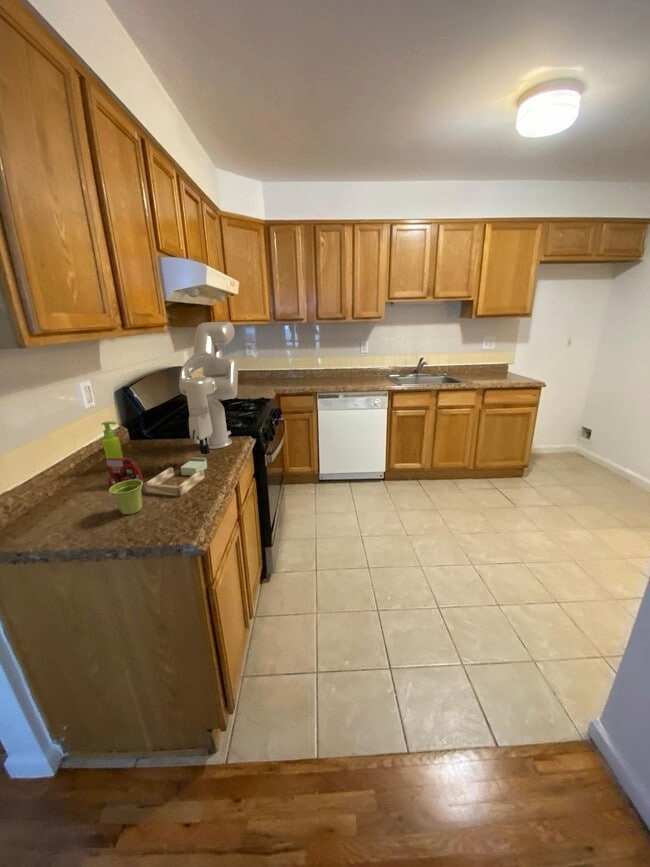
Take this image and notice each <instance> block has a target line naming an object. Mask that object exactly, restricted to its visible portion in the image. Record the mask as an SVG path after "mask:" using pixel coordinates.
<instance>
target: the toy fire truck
mask: <svg viewBox="0 0 650 867" xmlns="http://www.w3.org/2000/svg"><path fill="white" fill-rule="evenodd" d="M105 463H106V466H107V467H108V470H109V472H108V473H109V475H110V478H109V479H108V485H109V486H110V487H112V486H113V485H115V484H117V483H120V482H123V481H127V480H141V481H143V479H144V478H143V477H144V476H143V474H142V470H141V468H140V467H139V466H138V465H137V463H136V462H134V461H133V459H132V458H131V457H126V458H124V457H123V458H108V459H107V458H106V460H105Z"/></svg>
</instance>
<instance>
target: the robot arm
mask: <svg viewBox="0 0 650 867" xmlns="http://www.w3.org/2000/svg"><path fill="white" fill-rule="evenodd" d="M194 335H195V336H194V344H193V345H194V347H193V354H192V356H191V357H189V358H188V359H187V360H186V361H185V363H184V364H183V366H182V367H181V370H180V372H179V383H178V386H179V392H180V393H181V395H184V396H185V397H186V399H187V405H188V406H187V407H188V412H189V416H188V430H189V438H190V440H191V441H192V440H194V442H193V444H197V445H198V446H199V452H200V455H208V454H210V449H213V450H215V449H222V448H226V447H228V446H230V445H232V443H233V440H232V439H231V438H229V436H230V435H231V434H232V432H231V430H228V429H227V427H228V426H227V422H226V420H227V419H226V413H225V407H224V406H223V404H222V402H221V401H219V400H231V399H235V398H236V397H237V395H238V388H239V386H238V383H239V382H238V381H239V380H238V379H239V368H238V364H237V361H236V360H235V359H233V357H232V358H230V357H226V358H225V357H224V358H223V355H224V354H223V350H222V348H220V345H228V344H230V343H231V342H232V340H234V337H235V327H234V325H233V323H232V322H230V321H210V322H202V323H200V324H198V325H197V327H196V329H195V333H194ZM201 368H202V374H203V376H195V377H194V376H192V374H193V373H195V371H197V370H199V369H201ZM191 376H192V377H191Z"/></svg>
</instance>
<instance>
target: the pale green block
mask: <svg viewBox="0 0 650 867" xmlns="http://www.w3.org/2000/svg"><path fill="white" fill-rule="evenodd" d="M207 468H208V463H207V458H206V457H199V456H196V457H195V456H191V457H189V461H187V462H186V463H184V464H183V465H181V467H180V470H181V471H180V472H181V475H182V476H193V475H194V474H195V473H197V472H198V471H199V470H204V471H205V470H206V469H207Z"/></svg>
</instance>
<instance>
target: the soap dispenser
mask: <svg viewBox="0 0 650 867" xmlns="http://www.w3.org/2000/svg"><path fill="white" fill-rule="evenodd" d="M117 424H118V422H117V421H114V420H113V421H112V420H111V421H109V420H108V421H104V422H101V425H102V426H103V425H104V430H103V435H104V438H102V439H101V442H102V447H103V449H104V453H105V458H106V460H107V459H108V458H124V454H123V450H122V447H121V442H120V438H119V436H117V435H115V432H114V429H113V428H111V427H110V426H111V425H117Z"/></svg>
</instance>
